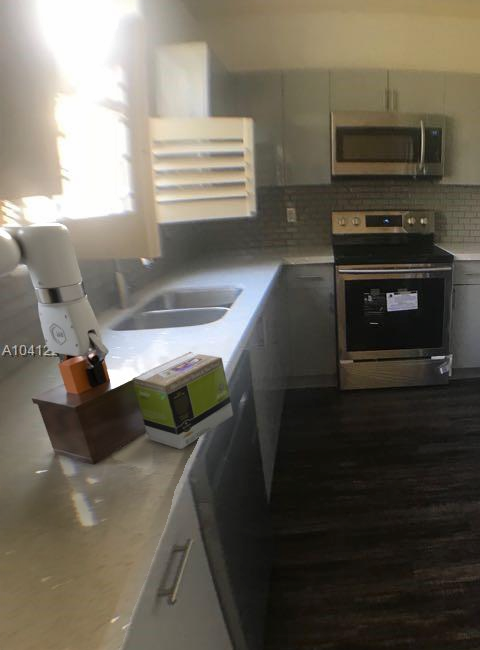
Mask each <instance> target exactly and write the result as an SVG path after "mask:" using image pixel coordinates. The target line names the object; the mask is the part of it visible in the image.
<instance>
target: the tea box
mask: <svg viewBox="0 0 480 650" xmlns="http://www.w3.org/2000/svg"><path fill="white" fill-rule="evenodd" d="M132 380H133V384H134V388H135V391H136V395H137V398H138V402H139V405H140V409H141V413H142V417H143V421H144V424H145V427H146V431H147V432H146V433H147V434H146V435H147V437H148V439H149V440H150V441H154V442H157V443H160V444H163V445H165V446H169V447H172V448H176V449H179V450H182V449H184V448H185V447H187V446H188V445H190V444H192V443H193V442H195V441H196V440H198V439H199V438H201V437H202V436H204V435H205V434H206V433H208V432H210V431H212V430H213V429H215V428H216V427H218V426H220V425H221V424H222V423H224V422H226V421H227V420H229V419H230V418H231V417H233V416H234V412H233V407H232V402H231V397H230V392H229V386H228V381H227V377H226V372H225V366H224V362H223V358H222V357H220V356H213V355H209V354H208V355H207V354H202V353H196V352H192V351H189V352H187V353H184V354H182V355H179V356H177V357H176V358H173V359H171V360H169V361H167V362H164V363H162V364H160V365H157V366H155V367H153V368H151V369H149V370H146V371H144V372H143V373H140V375H138V376H136V377H133V378H132Z"/></svg>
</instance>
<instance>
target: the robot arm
mask: <svg viewBox="0 0 480 650" xmlns="http://www.w3.org/2000/svg"><path fill="white" fill-rule="evenodd" d="M20 266H26V268H27V270H28V274H29V276H30V280H31V282H32V285H33V289H34V293H35V295H36V299H37V306H38V308H37V309H38V316H39V321H40V327H41V330H42V334H43V338H44V342H45V345H46V348H47V350H48V351H49V352H52V353H53V354H55V355H56V356H57V357H58V359H59V363H61V362H64V361H66V360H69V359H71V358H74V357H77V356H78V357H81V356H82V358H83V360H84V362H85V364H86V365H87V367H88V368H87V369H85V370H86V373H87V376H88V380H89V383H90V386H91V387H93V388H95V387H97V386H99V385H101V384H103V383H105V382H107V378H106V375H105V371H104V368H103V364H104V359H105V360H106V357H107V355H108V354H109V349H108V348H107V346H106V345H105V344H104V341H103V337H102V332H101V329H100V326H99V323H98V320H97V317H96V315H95V312H94V311H93V307H92V306H91V303H90V301H89V299H88V295H87V290H86V287H85V283H84V281H83V276H82V272H81V269H80V266H79V263H78V259H77V255H76V251H75V248H74V243H73V240H72V236H71V233H70V231H69V229H68V228H67V226H66V225H63V224H60V223H54V222H53V223H50V222H49V223H35V224H28V225H24V226H4V225H3V226H0V278H3V277H6V276H9V275H11V273H13V272H14V271H15V270H16V269H17V268H18V267H20ZM90 349H91V350H90ZM92 353H93V355H94V356H93V358H92V359H90V357H89V355H90V354H92Z"/></svg>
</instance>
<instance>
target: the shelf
mask: <svg viewBox="0 0 480 650" xmlns="http://www.w3.org/2000/svg"><path fill="white" fill-rule="evenodd" d="M107 370H108V374H109V377H110V380H108V381H107V382H105V383H103V384H101V385H99V386H97V387H95V388H91V389H89V390H87V391H84V392H82V393H80V394H74V393H69V392H67V391H66V388H65V385H64V383H62V384H60V385H57V386H56V387H53V388H51V389H49V390H46V391H44V392H42V393H39V394H37V395H34V396H33V397H32V396H31V402H32V403H33V404H35V405H37V407H38V410H39V412H40V415H41V419H42V422H43V424H44V427H45V430H46V433H47V435H48V437H49V442H50V444H51V447H52V451H53V452H54V455H58V456H61V457H65V458H68V459H73V460H75V461H78V462H83V463H86V464H90V465H95V464H97V463H98V462H100V461H102V460H103V459H105V458H107V457H108V456H110V455H112V454H113V453H114V452H116V451H118V450H120V449H121V448H123V447H124V446H126V445H127V444H129V443H131V442H132V441H134V440H135V439H137V438H139V437H140V436H142V435H143V434H146V433H147V431H146V427H145V424H144V421H143V417H142V413H141V409H140V405H139V402H138V398H137V395H136V391H135V388H134V384H133V380H132V378H133V377H136V376H138V375H140V374H141V373H140V374H139V373H133V372H128V371H121V370H116V369H109V368H107Z"/></svg>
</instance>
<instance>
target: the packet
mask: <svg viewBox="0 0 480 650" xmlns="http://www.w3.org/2000/svg"><path fill="white" fill-rule="evenodd" d="M93 356H94V355H93V353H92V354H90V355H89V357H90V359H92V358H93ZM57 366H58V369H59V372H60V375H61V378H62V383H63V384H64V385H65V388H66V391H67V392H69V393H74V394H80V393H82V392H84V391H87V390H89V389H91V388H93V387H91V386H90V383H89V380H88V376H87V373H86V370H85V369H87V368H88V367H87V365H86V364H85V362H84V360H83V358H82V356H81V357H78V356H77V357H74V358H71V359H69V360H66V361H64V362H61V363H60V362H58V363H57ZM103 368H104V371H105V375H106V378H107V381H108V380H110V377H109V374H108V370H107V369H108V367H107V364H106V358H105V359H104V364H103Z"/></svg>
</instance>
